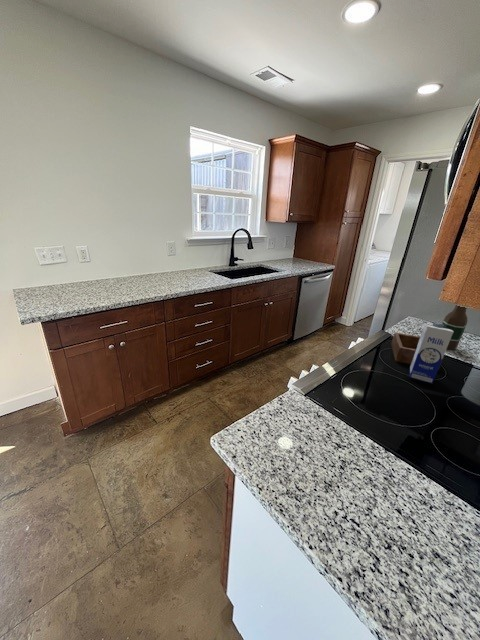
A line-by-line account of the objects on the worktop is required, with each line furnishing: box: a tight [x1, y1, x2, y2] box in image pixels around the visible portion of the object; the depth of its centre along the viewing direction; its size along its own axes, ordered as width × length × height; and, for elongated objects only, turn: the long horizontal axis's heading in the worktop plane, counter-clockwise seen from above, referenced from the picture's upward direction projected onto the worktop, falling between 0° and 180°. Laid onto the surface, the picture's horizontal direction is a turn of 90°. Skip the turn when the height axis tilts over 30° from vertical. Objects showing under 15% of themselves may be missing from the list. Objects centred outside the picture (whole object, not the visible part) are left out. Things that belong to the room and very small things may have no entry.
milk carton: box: [408, 322, 453, 384], centre depth 90 cm, size 7×7×20 cm
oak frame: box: [390, 332, 445, 371], centre depth 105 cm, size 14×14×6 cm
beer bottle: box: [441, 304, 468, 351], centre depth 110 cm, size 8×8×24 cm
